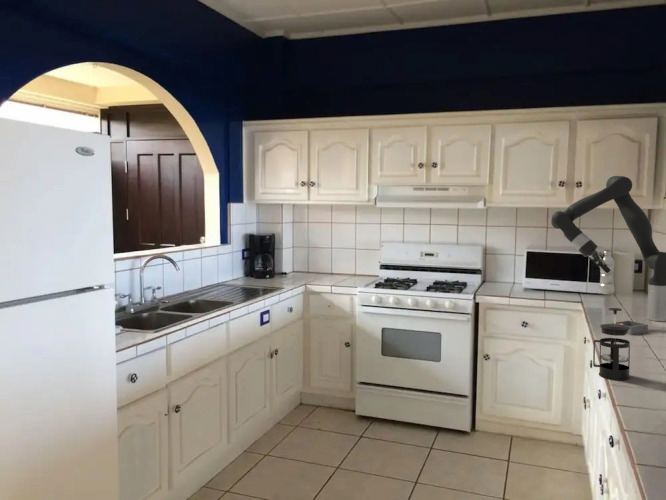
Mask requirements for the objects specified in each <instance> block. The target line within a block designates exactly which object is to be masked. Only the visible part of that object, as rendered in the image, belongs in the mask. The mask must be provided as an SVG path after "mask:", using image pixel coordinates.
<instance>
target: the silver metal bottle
mask: <svg viewBox="0 0 666 500" xmlns="http://www.w3.org/2000/svg"><path fill="white" fill-rule="evenodd" d="M602 254H603V257H602V259H603V262H604V265H606V266H607V267H608V268H609V269H610V270H611V271H610V272H609V273H606V272H605V271H604V270H603V269H602V268H600V267H599V271H600V277H599V285H598V290H599V292H600V294H604V295H611V294H614V292H615V285H614V273H615V272H614V270H615V264H616V263H615V260H614V258H613V257H612V255H613V251H612V250H602Z"/></svg>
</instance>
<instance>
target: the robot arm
mask: <svg viewBox="0 0 666 500" xmlns="http://www.w3.org/2000/svg"><path fill="white" fill-rule="evenodd" d="M632 188H633V181H632V180H631V178H629V177H627V176H623V175H613V176H611V177H609V178H608V179H607V180H606V183H605V187H604V188H602V189H601V190H599V191H598V192H595V193H592V194H589V195H587V196H585V197H583V198H581V199H578V200H577V201H576V202H574V203H572V204H570V205H569V206H567V208H566V209H565V210H563V211H562V210H561V211H560V210H558V211H555V212H554V213H553V214H552V216H551V221H550V222H551V226H552V227H553V228H555V229H558V230H559V229H560V230H561V232H562V233H563V235H564V237H565V238H566V239H567V240H568V241H569V242H570V243H571V245H573V246H574V248H575V249H576V250H577V251H578V252H579V253H580V254H581V255H582V256H583V257H585V258H586V257H588V259H589V260H590V261H591V262H592V263H593V264H594V265H595V266H597V267H598V268H599V269H600V268H602V269H603V270H604V271H605V272H606V273H609V272H610V271H611V270H610V269H609V268H608V267H607V266H606V265H604V262H603V259H602V257H603V252H602V251H600V252H599V251H597V249H598V244H596V243H595V242H594V241H593V240H592V239H591V238H590V237H589V236H588V235H587V234H585V233H584V232H583V231H582V230H581V229H580V228H579V227H578V226H577V225H576V224H575V222H574V221H575V220H576V219H578V218H580V217H582V216H584V215H586V214H587V213H589V212H590V211H593V210H594V209H596V208H598V207H600V206H601V205H604V204H605V203H607V202H609V201H612V200H613V201H614V203H615V204H616V206H617V207H618V210H619V212H620V214H621V216H622V217H623V219H624V221H625V224H626V227H628V229H629V231H630V234H632V236H633V238H634V241H635V242H636V244H637V246H638V248H639V250H640V252H641V255H642V258H643V260H644V263H645V265H646V266H647V267H648V268H649V269H650V270H653V275H652V277H649V278H648V281H647V284H648V287H647V320H649V321H653V322H666V251H660V250H659V249H658V247H657V246H656V244H655V241H654V240H653V227H652V224H651V222H650V220H649V218H648V216H647V214H646V213H645V212H644V210H643V209H642V207H640V206H639V205H638V204H637V203H636V202H635V201H634V199H633V198H632V196H631V194H630V193H631V192H630V191H632Z"/></svg>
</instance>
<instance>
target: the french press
mask: <svg viewBox="0 0 666 500" xmlns="http://www.w3.org/2000/svg"><path fill="white" fill-rule="evenodd" d="M607 310H608V311H613V316H614V320H613V322H614V324H612V323H602V324H600V325H599V326H600V328H601V329H600V332H601V333H602V334H603V335H606V336H607V335H609V336H613V337H603V338H600V339H594V340H593V346H592V347H593V349H592V350H593V352H592V353H593V355H592V356H593V357H592V358H593V359H592V362H593V363H592V365H593V367H595V368H599V372H598V376H599V377H601V378H603V379H606V380H610V381H627V380H630V379H631V376H630V365H631V364H630V358H631V357H630V356H631V355H630V354H631V352H630V351H631V342H630V340H627V339H625V338H618V336H620V337H621V336H626V335H627V334H626V333H627V332H628V330H629V329H630V327H629V326H626V325H620V324H616V322H617V321H616V320H617V316H616V315H617V314H618V312H619V311H620V312H622V311H623V309H622V308H620V307H610V308H607ZM616 336H617V337H616ZM596 343H599V364H596V363H595V360H596V357H595V356H596V355H595V354H596ZM602 347H606V348H610V353H606V354H602V351H601V350H602ZM620 349H627V350H628V351H627V352H628V355H627V356H625V355H622V354H620ZM601 354H602V355H601ZM601 360H603V361H606V362H602V361H601ZM626 362H627V364H628V365H626V364H622V363H626Z"/></svg>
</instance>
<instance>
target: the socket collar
mask: <svg viewBox="0 0 666 500" xmlns="http://www.w3.org/2000/svg"><path fill="white" fill-rule="evenodd" d="M611 324H614V321H613V322H612V323H611ZM616 324H620V325H626V326H629V327H630V329H629V330H628V332H627V333H626V335H630V336H631V335H640V334H646V333H647V334H648V331H649V325H648V324H646V323H643V322H637V321H633V320H622V321H616Z"/></svg>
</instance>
